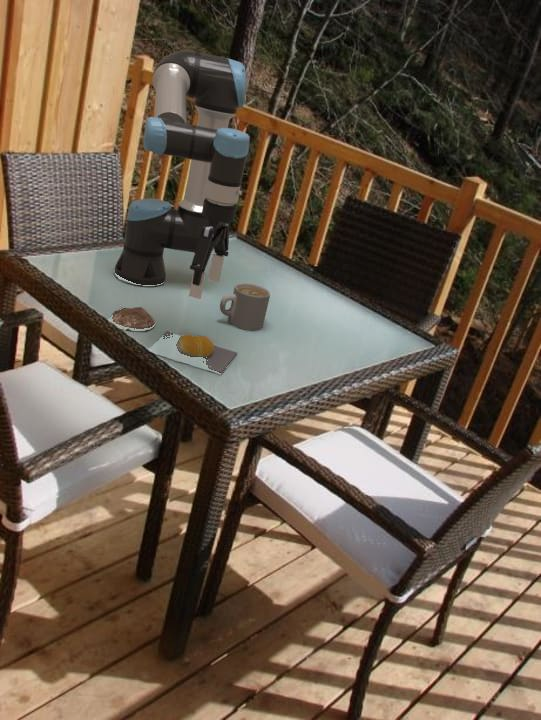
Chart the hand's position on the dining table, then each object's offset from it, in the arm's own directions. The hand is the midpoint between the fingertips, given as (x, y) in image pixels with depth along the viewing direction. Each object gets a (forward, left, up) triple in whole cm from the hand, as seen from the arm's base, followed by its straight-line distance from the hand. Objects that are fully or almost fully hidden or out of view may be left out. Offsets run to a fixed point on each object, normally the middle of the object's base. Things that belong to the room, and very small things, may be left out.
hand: (204, 288), depth 169 cm
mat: (0, -1, -17) cm, 17 cm away
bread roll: (+1, -1, -16) cm, 16 cm away
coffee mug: (+4, +26, -17) cm, 32 cm away
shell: (-19, +6, -18) cm, 27 cm away
